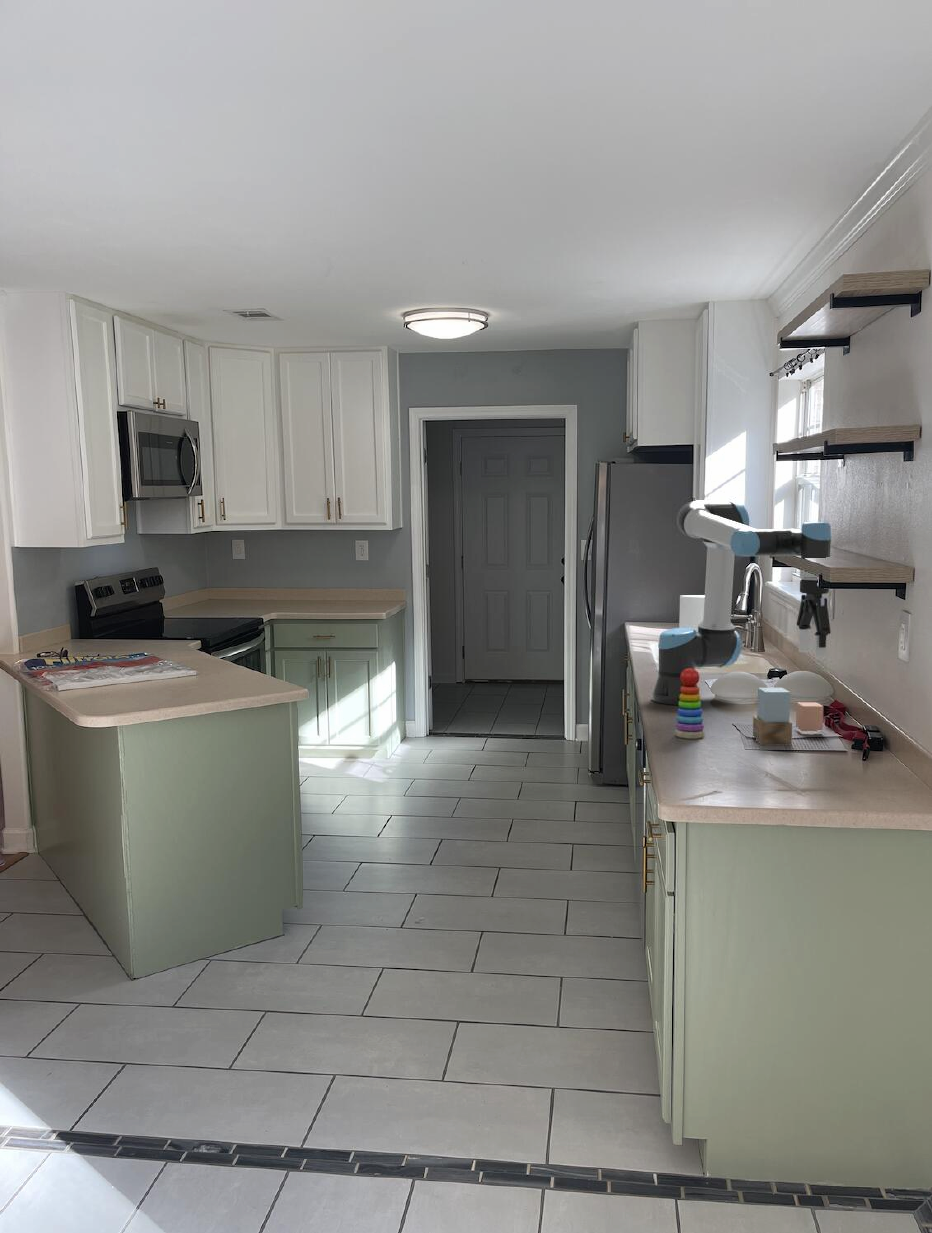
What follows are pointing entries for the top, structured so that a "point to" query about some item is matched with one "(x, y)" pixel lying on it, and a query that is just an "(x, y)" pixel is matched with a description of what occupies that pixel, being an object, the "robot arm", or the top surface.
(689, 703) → the stacking toy
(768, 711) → the blue grey block
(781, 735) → the walnut block
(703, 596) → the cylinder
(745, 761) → the top surface
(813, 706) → the terracotta block
